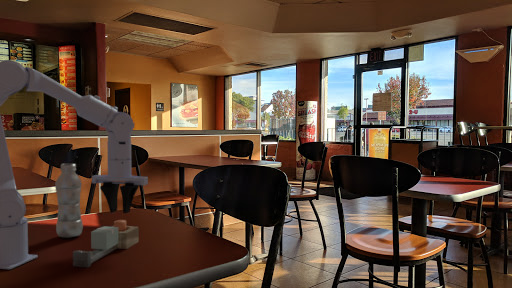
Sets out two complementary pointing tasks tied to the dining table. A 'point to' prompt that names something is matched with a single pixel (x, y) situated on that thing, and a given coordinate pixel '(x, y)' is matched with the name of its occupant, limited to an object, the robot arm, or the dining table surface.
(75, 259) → the rail
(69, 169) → the plastic bottle
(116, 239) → the block
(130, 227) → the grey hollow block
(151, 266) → the dining table surface
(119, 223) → the button
